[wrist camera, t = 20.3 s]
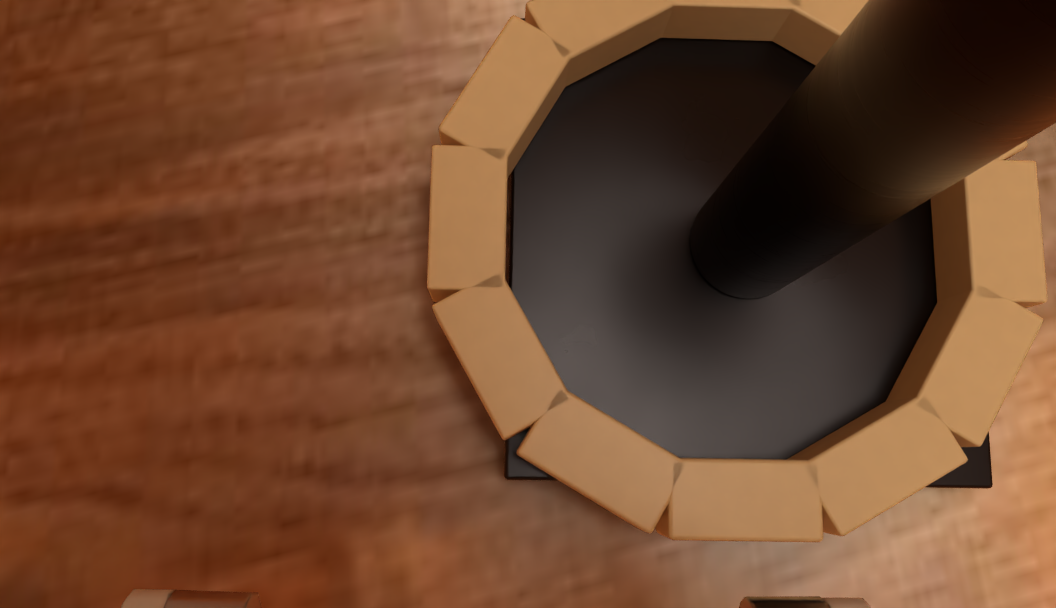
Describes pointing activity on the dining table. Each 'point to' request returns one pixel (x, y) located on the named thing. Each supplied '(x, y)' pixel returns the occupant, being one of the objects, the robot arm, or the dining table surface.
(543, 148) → the hook post
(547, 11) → the segmented block ring
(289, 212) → the dining table surface
